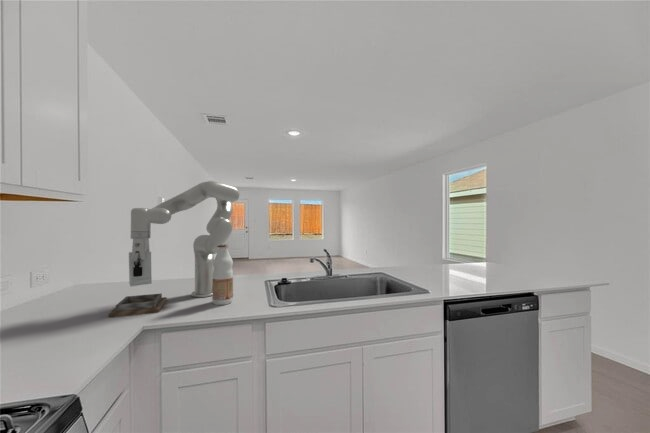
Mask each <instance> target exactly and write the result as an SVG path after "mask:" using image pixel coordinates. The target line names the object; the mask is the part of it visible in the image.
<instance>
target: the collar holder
mask: <svg viewBox="0 0 650 433" xmlns="http://www.w3.org/2000/svg"><path fill="white" fill-rule="evenodd" d="M162 296H163V294H162V292H161V293H152V294H150V293H149V294H142V295H141V294H140V295H139V294H138V295H129V296H127V295H126V296H125V297H124V298H122V299H121V300H120V301H119V302H118V303H117V304H116V305H115V308H113V309H112V310H111V311H109V313H108V318H116V317H115V316H117V317H123V316H124V317H125V315H126V316H134V315H133V314H136V315H143V313H145V314H150V313H151V314H153V313H154V312H155V313H160V311H161V310H162V308H163V307H164V305H165V303H166V302H167V301H168V300H167V299H168V298H167V297H162Z"/></svg>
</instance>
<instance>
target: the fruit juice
mask: <svg viewBox="0 0 650 433" xmlns="http://www.w3.org/2000/svg"><path fill="white" fill-rule="evenodd" d="M233 265H234V260H233V258H232V257H231V254H230V252H229V244H227V243H225V244H219V245H218V252H217V253H216V254H215V256H214V261H213V267H214V271H213V288H212V296H211V297H212V304H213V305H217V306H222V305H224V306H225V305H229V304H232V303H233V301H234V270H233Z"/></svg>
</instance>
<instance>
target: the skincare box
mask: <svg viewBox="0 0 650 433" xmlns="http://www.w3.org/2000/svg"><path fill="white" fill-rule="evenodd" d="M138 260H141V259H138ZM139 263H140V262H139ZM133 266H134V261H133V260H132V251H129V252H128V274H129V275H128V278H129V282H128V284H129V286H130V288H132V287H137V286H144V285H151V284H152V252H151V250H149V251H148V252H147V255H146V260H145V261H143V260H142V266H141V267H142V276H136V277H134V276H133Z"/></svg>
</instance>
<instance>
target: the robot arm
mask: <svg viewBox="0 0 650 433" xmlns="http://www.w3.org/2000/svg"><path fill="white" fill-rule="evenodd" d="M208 198H209V199H210V198H215V200H216V204H217V207H216V210H215V211H214V213H213V215H212V216H211V218H210V220H209V221H208V222H207V224H206V226H205V227H206V231H207V233H208V234H202V235H201V234H200V235H198V236H197V237H196V238H195V239H194V241H193V244H192V246H193V253H194V291H192V292H191V297H193V298H207V297H212V288H213V271H214V267H213V261H214V259H215V256H214V255H217V252H218V245H219V244H226V243H227V241H228V240H229V239H228V238H230V235H231V234H232V231H233V223H232V221H231V220H230V219H231V217H232V214H233V204H232V203H236V202H237V201H238V200H239V199H240V191H239V190H238V188H236V187H234V186H232V185H230V184H225V183H221V182H217V181H214V180H208V181H203V182H201V183H198V184H196V185H194V186H193V187H190V188H189V189H188V190H185V191H183V192H181V193H179V194H177V195H176V196H173V197H171V198H169V199H168V200H165V201H163V202H161V203H160V204H158V205H157V204H156V206H154V207H152V208H148V207H135V208H131V209H130V239H131V240H132V247H131V248H132V249H131V252H132V260H133V261H134V266H133V276H134V277H136V276H142V267H141V266H142V260H143V261H145V260H146V255H147V252H148V251H150V239H151V236H152V235H151V231H152V230H151V224H153V225H154V224H155V225H165V224H168V223H169V222H170V221H171V220H172V215H175V214H177V213H179V212H184V211H187V210H189V209H192V208H193V207H195V206H197V205H198V204H200V203H202V202H203V201H205V200H207V199H208ZM138 259H141V260H138ZM139 262H140V263H139Z"/></svg>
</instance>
